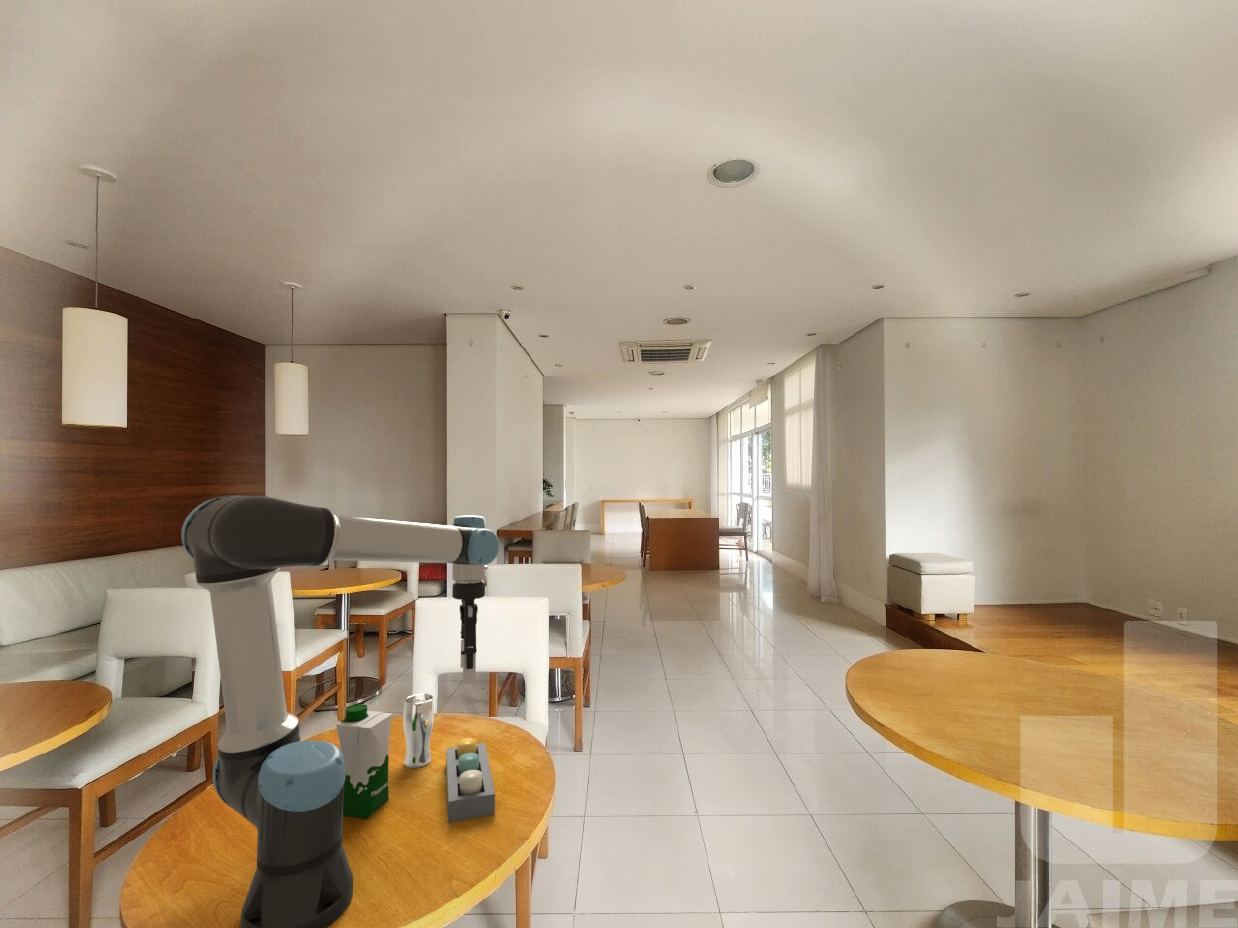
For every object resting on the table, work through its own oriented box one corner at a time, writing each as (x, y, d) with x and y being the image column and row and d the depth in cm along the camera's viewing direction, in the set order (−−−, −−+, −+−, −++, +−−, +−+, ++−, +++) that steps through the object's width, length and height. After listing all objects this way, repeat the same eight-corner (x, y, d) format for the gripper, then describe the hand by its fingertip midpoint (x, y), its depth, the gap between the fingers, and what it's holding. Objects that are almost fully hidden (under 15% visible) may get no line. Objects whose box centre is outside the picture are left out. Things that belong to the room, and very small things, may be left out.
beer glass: (437, 755, 135) (438, 693, 136) (425, 769, 128) (426, 704, 129) (410, 754, 136) (412, 692, 137) (396, 768, 129) (398, 703, 130)
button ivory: (482, 795, 111) (482, 778, 112) (460, 798, 110) (460, 782, 110) (480, 784, 116) (481, 768, 116) (459, 787, 114) (459, 771, 114)
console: (494, 814, 110) (495, 793, 111) (448, 822, 107) (448, 801, 108) (484, 759, 133) (485, 742, 133) (446, 765, 130) (446, 748, 130)
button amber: (477, 759, 127) (477, 744, 127) (457, 762, 125) (457, 747, 125) (475, 750, 131) (476, 736, 131) (456, 753, 129) (456, 739, 130)
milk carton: (358, 793, 118) (360, 699, 119) (395, 798, 116) (397, 702, 117) (328, 817, 109) (331, 715, 110) (369, 822, 108) (371, 718, 109)
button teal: (479, 776, 119) (479, 760, 119) (458, 779, 118) (458, 763, 118) (478, 766, 123) (478, 751, 123) (457, 769, 122) (458, 754, 122)
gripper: (489, 587, 120) (488, 689, 119) (481, 573, 143) (480, 658, 141) (454, 589, 118) (452, 693, 117) (451, 574, 140) (449, 661, 139)
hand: (467, 674), depth 129 cm, fingers open, 11 cm apart
